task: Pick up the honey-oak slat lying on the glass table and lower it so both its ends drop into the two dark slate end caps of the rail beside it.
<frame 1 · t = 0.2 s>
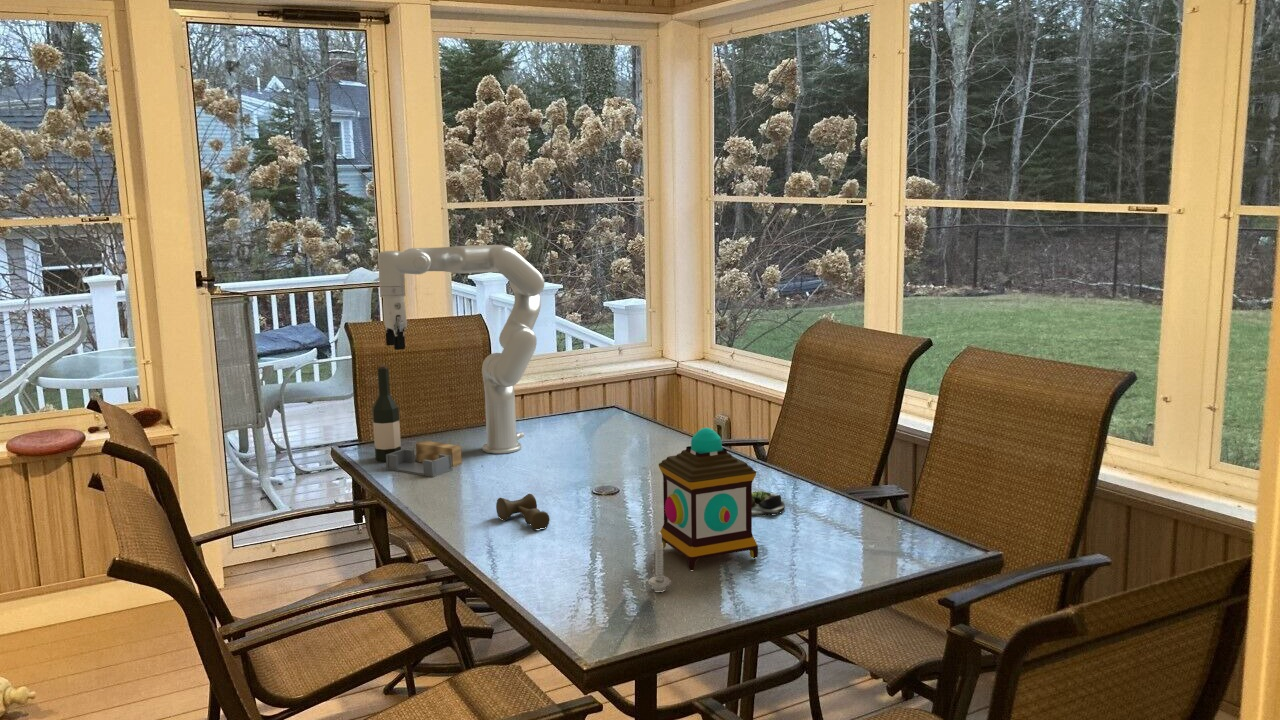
hand: (395, 347, 318), 36 cm above the table, tool pointing down, fingers open, 9 cm apart
salad plate: (754, 509, 273), on the table
screw: (659, 591, 218), on the table
decorative lantern: (707, 555, 239), on the table
slat: (439, 463, 323), on the table
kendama: (523, 521, 266), on the table
end-cap rail: (419, 469, 315), on the table
wine bottle: (388, 459, 328), on the table
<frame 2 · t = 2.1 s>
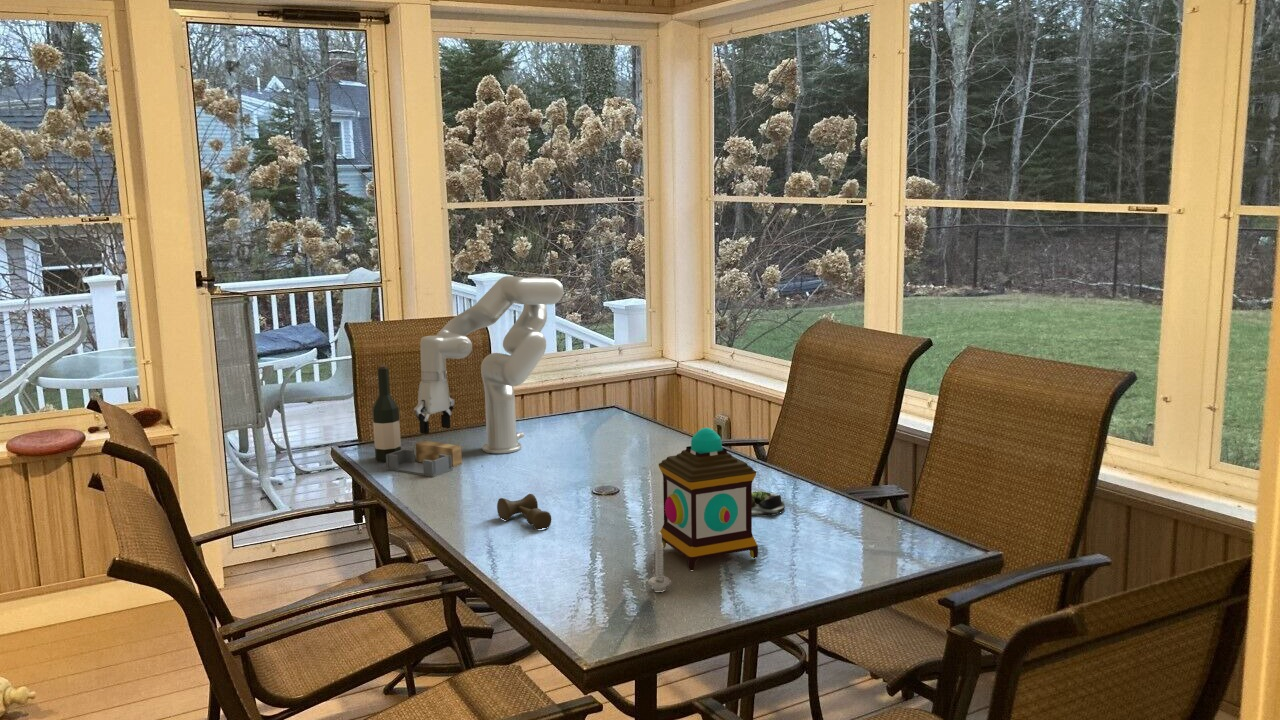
hand: (435, 430, 321), 10 cm above the table, tool pointing down, fingers open, 9 cm apart
nothing on the table moved.
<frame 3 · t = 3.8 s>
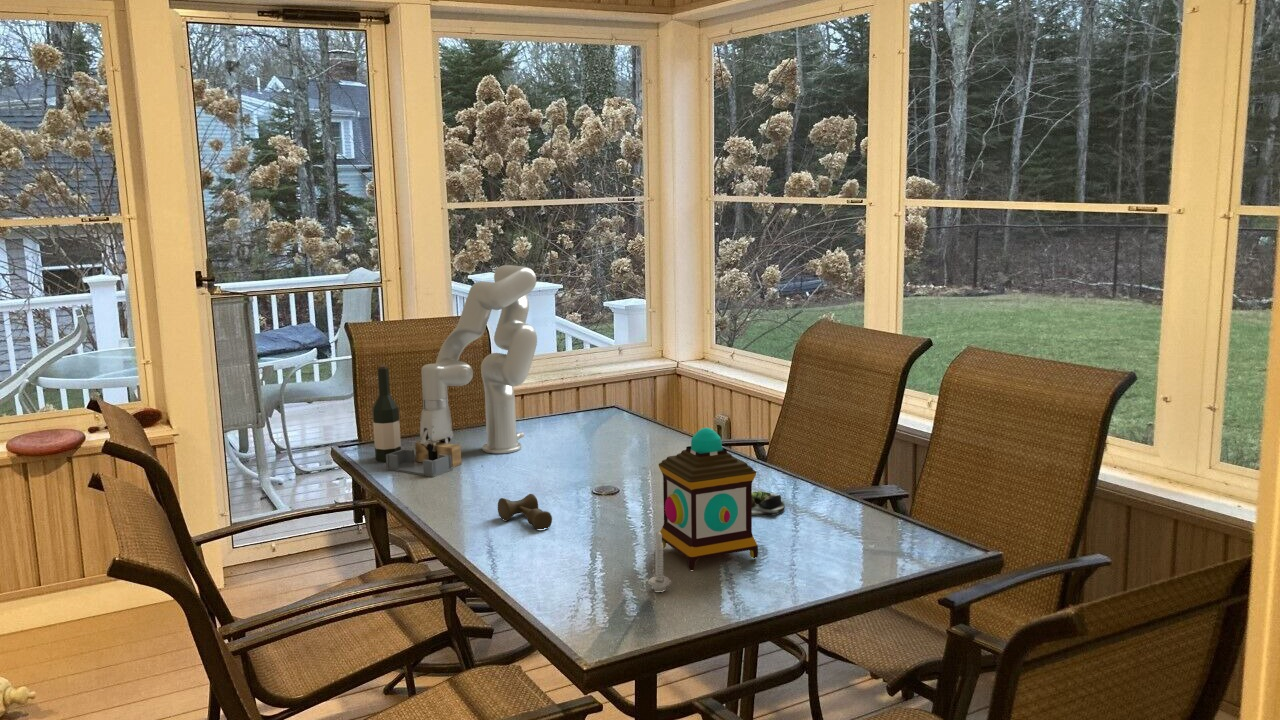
hand: (438, 460, 323), 1 cm above the table, tool pointing down, fingers closed on slat, 4 cm apart
slat: (438, 462, 323), on the table, touching gripper
everything else where it was.
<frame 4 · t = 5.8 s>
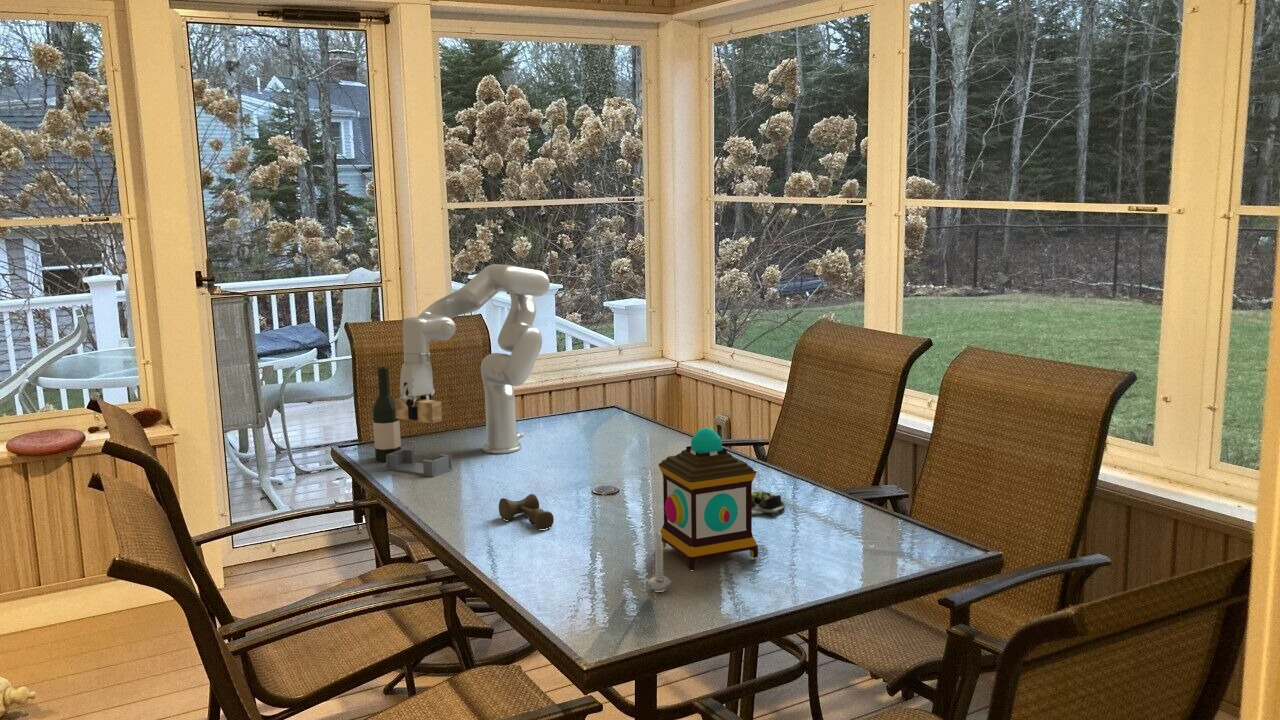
hand: (418, 417, 314), 16 cm above the table, tool pointing down, fingers closed on slat, 4 cm apart
slat: (418, 419, 314), point 15 cm above the table, touching gripper
everything else where it was.
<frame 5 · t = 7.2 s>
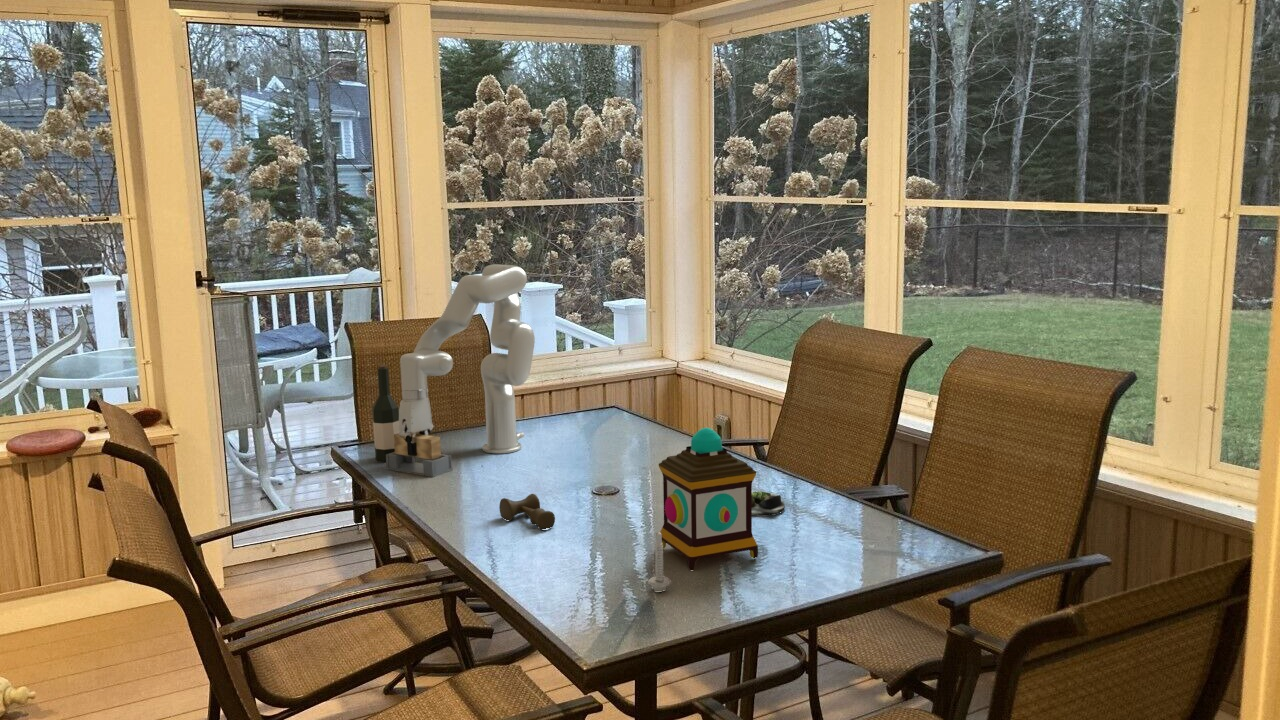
hand: (417, 453, 314), 5 cm above the table, tool pointing down, fingers closed on slat, 4 cm apart
slat: (417, 455, 314), point 5 cm above the table, touching gripper
when the fingers open (2 cm above the table, at t = 8.0 s): slat stays where it is, resting on end-cap rail.
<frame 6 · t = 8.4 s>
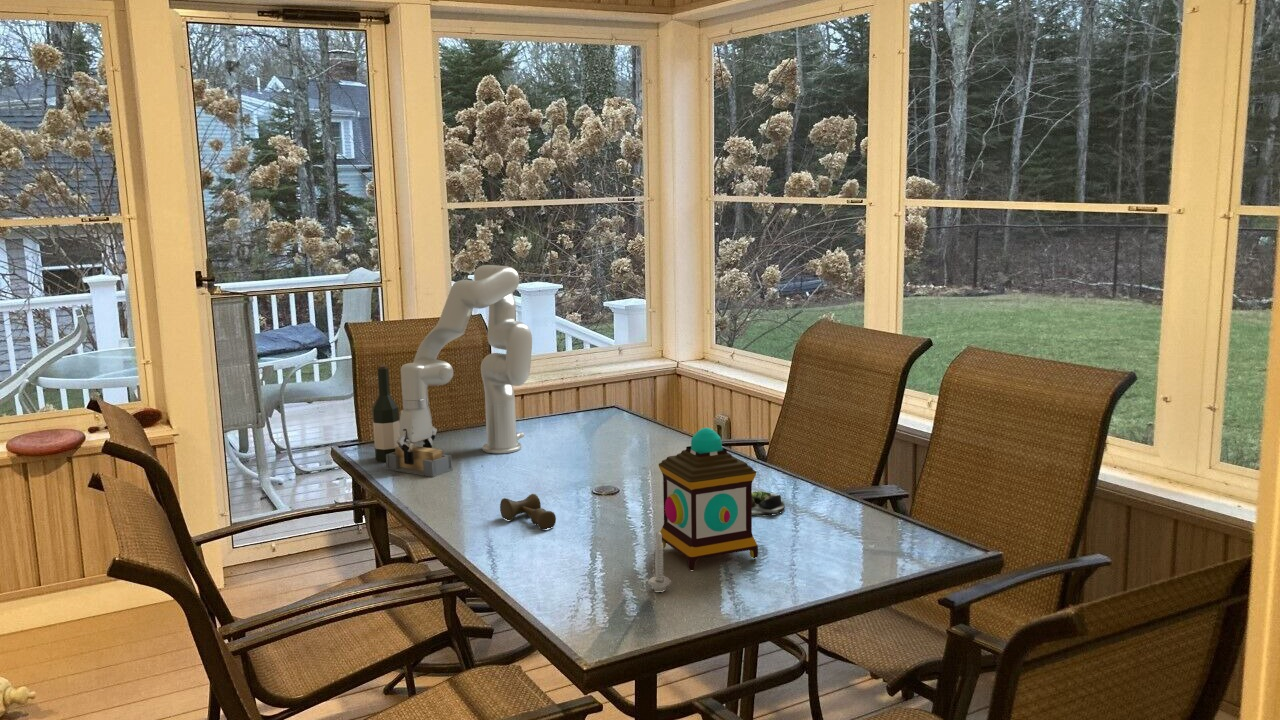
hand: (418, 460, 315), 3 cm above the table, tool pointing down, fingers open, 7 cm apart
slat: (419, 467, 315), point 1 cm above the table, touching end-cap rail
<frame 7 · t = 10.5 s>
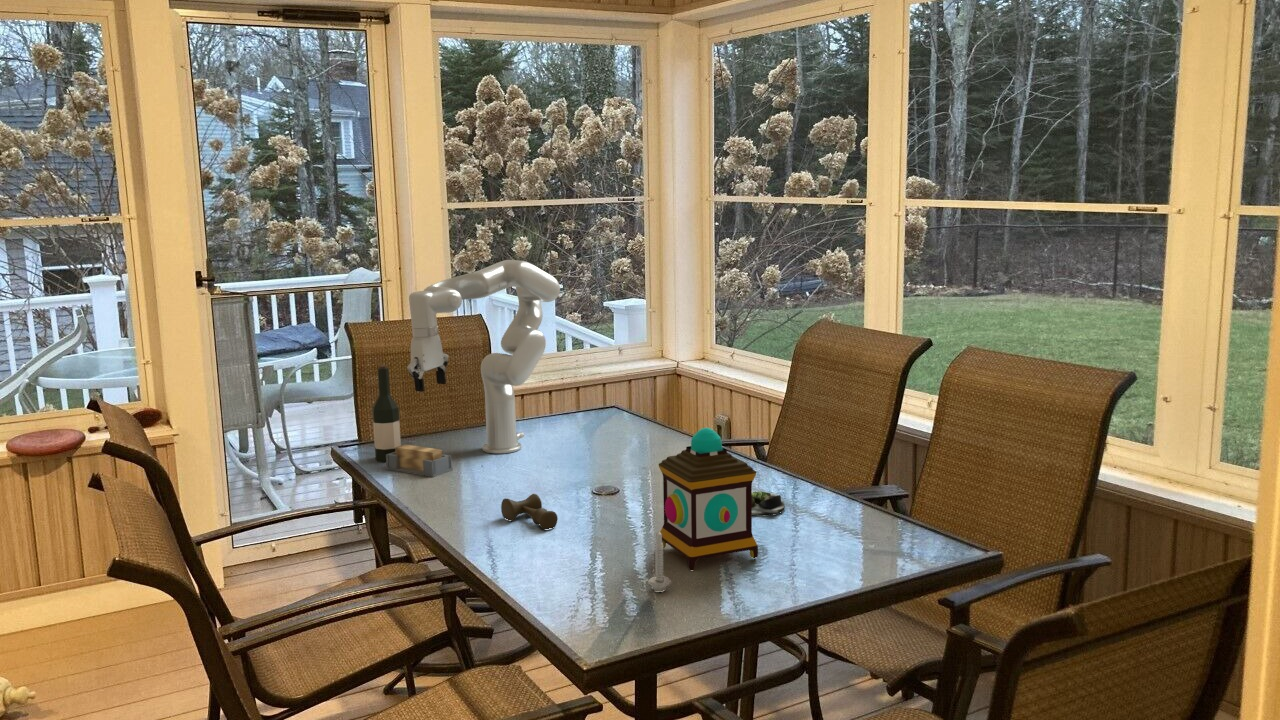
hand: (431, 387, 315), 25 cm above the table, tool pointing down, fingers open, 9 cm apart
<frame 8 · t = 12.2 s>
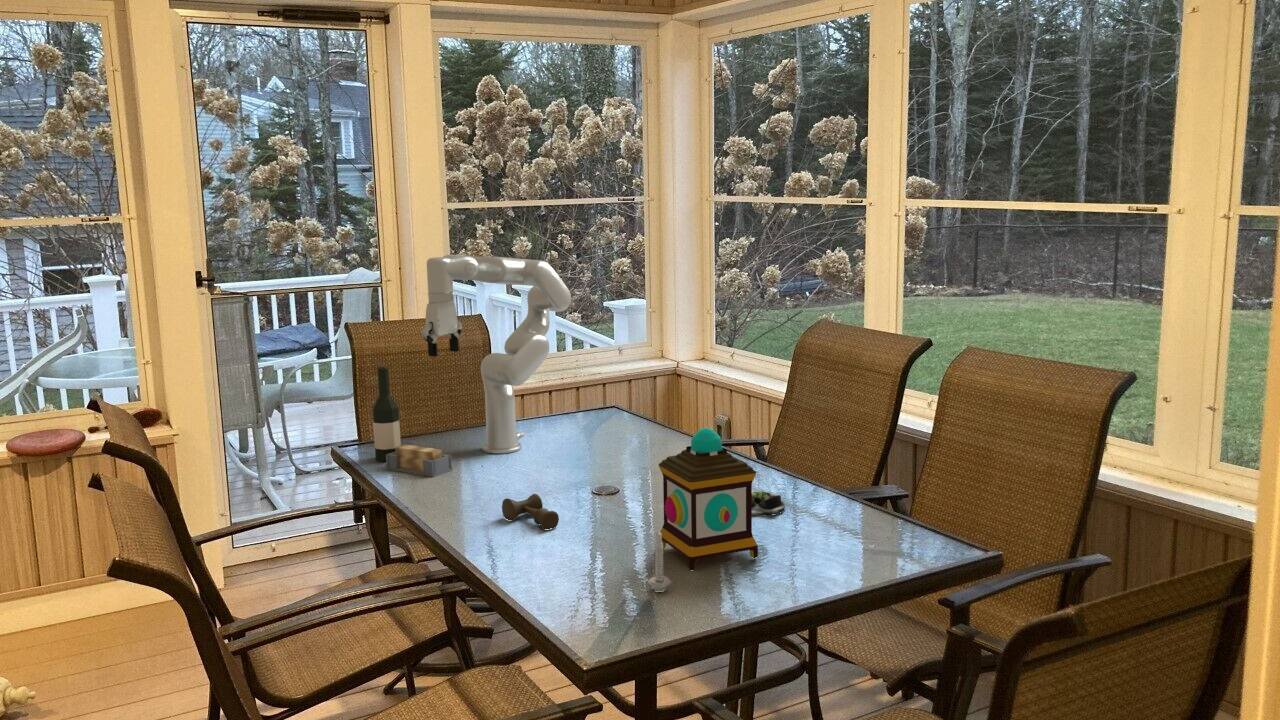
hand: (443, 353, 317), 34 cm above the table, tool pointing down, fingers open, 9 cm apart
at the end: slat 0.1 cm off-centre on the end-cap rail, point 0.6 cm above the end-cap rail's base; slat tilted 0°; the gripper is holding nothing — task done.
